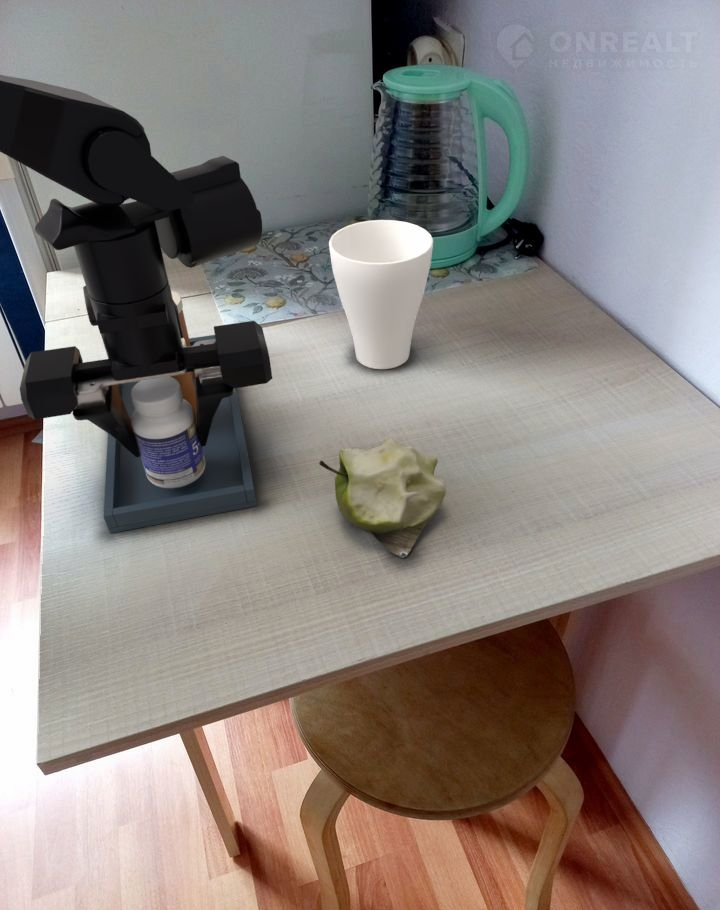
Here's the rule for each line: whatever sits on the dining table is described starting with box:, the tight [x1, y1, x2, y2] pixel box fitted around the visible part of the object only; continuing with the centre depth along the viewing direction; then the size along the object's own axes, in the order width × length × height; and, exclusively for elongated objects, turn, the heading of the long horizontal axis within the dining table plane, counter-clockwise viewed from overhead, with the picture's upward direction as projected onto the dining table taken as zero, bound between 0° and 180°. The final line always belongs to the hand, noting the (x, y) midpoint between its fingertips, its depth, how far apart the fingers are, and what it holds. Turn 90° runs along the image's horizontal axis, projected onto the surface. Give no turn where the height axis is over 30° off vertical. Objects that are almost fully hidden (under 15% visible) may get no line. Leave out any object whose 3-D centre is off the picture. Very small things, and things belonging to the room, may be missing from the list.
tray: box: [102, 334, 258, 534], centre depth 70 cm, size 13×27×2 cm, turn 13°
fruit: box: [318, 436, 447, 559], centre depth 59 cm, size 9×9×8 cm
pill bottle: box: [131, 376, 205, 488], centre depth 60 cm, size 5×5×9 cm
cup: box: [328, 219, 434, 370], centre depth 75 cm, size 10×10×14 cm
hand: (171, 448), depth 62 cm, fingers closed on pill bottle, 5 cm apart
